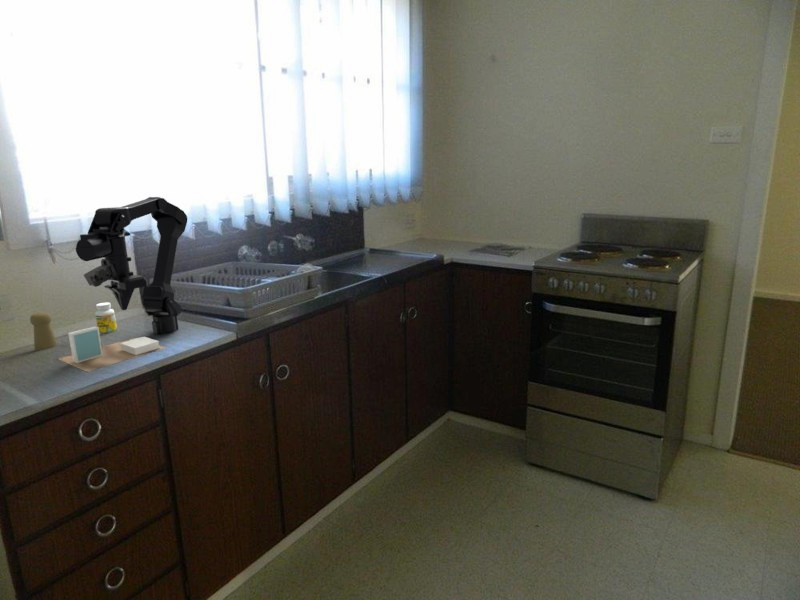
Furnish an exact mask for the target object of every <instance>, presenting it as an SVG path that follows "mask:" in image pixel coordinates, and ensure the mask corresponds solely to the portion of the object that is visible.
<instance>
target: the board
mask: <svg viewBox="0 0 800 600" xmlns="http://www.w3.org/2000/svg"><path fill="white" fill-rule="evenodd" d="M137 338H138V337H132V338H129V339H124V340H121V341H118V342H114V343H111V344H107V345H103V346H102V351H103V356H100V357H96V358H93V359H89V360H86V361H82V362H79V363H75V362H73V357H72V354H70V355H68V356H63V357H59V358H58V359H57V360H58V361H61V362H63V363H65V364H68V365H70V366H72V367H74V368H77V369H79V370H81V371H84V372H86V373H88V372H91V371H94V370H98V369H101V368H105V367H108V366H111V365H114V364H119V363H120V362H125V361H127V360H130V359H134V358H137V357H141V356H145V355H147V354H151V353H155V352H157V351H161V350H164V349H167V347H166V346H162V345H160V344H159V346H160V348H158V349H155V350H152V351H148V352H145V353H142V354H138V355H134V354H131V353H128V352H126V351H123V350H121V346H120V343H122V342H126V341H129V340H133V339H137Z"/></svg>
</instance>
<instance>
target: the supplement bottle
mask: <svg viewBox="0 0 800 600" xmlns="http://www.w3.org/2000/svg"><path fill="white" fill-rule="evenodd" d="M95 306H96V310H97V311H95V320H96V327H99V333H100V335H103V334H108V333H113V332H115V331H116V332H117V330H118V325H117V319H116V313H115V310H114V309H113V308H111V307H112V304H111V302H108V301H107V302H100V303H97V304H96V305H95Z"/></svg>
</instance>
